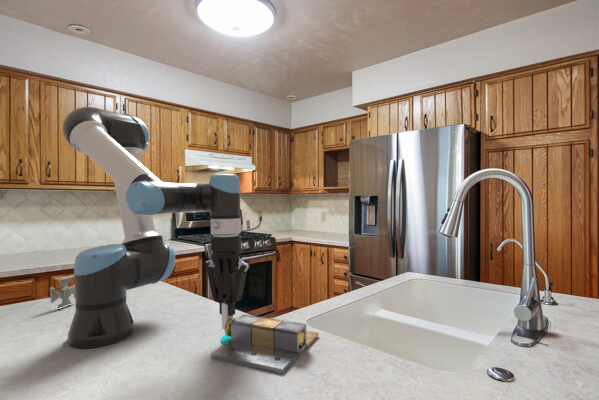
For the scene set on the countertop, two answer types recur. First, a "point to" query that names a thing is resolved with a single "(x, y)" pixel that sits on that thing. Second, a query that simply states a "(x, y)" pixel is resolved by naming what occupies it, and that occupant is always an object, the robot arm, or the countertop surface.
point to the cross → (63, 292)
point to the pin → (228, 323)
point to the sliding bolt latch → (264, 343)
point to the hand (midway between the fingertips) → (227, 327)
